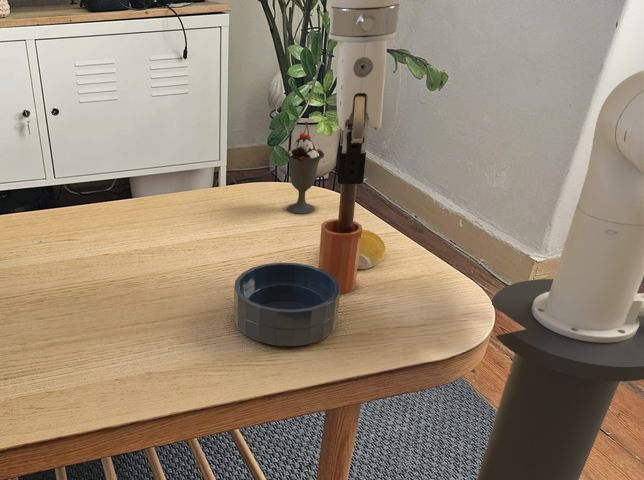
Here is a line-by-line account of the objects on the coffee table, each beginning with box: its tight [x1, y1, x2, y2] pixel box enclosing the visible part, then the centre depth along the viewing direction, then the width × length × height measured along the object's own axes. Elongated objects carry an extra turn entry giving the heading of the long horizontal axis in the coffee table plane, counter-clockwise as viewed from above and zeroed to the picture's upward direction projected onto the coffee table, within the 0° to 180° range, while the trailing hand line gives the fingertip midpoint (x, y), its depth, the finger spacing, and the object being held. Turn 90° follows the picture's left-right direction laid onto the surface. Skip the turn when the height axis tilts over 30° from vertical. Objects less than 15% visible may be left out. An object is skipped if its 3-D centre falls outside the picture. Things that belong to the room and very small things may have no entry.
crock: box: [317, 218, 363, 295], centre depth 90 cm, size 5×6×9 cm
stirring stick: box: [337, 135, 358, 233], centre depth 86 cm, size 2×2×16 cm
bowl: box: [233, 262, 341, 347], centre depth 84 cm, size 13×13×6 cm
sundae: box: [284, 121, 325, 215], centre depth 113 cm, size 7×7×15 cm
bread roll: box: [357, 229, 386, 270], centre depth 99 cm, size 8×9×4 cm
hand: (349, 178), depth 84 cm, fingers closed on stirring stick, 2 cm apart
